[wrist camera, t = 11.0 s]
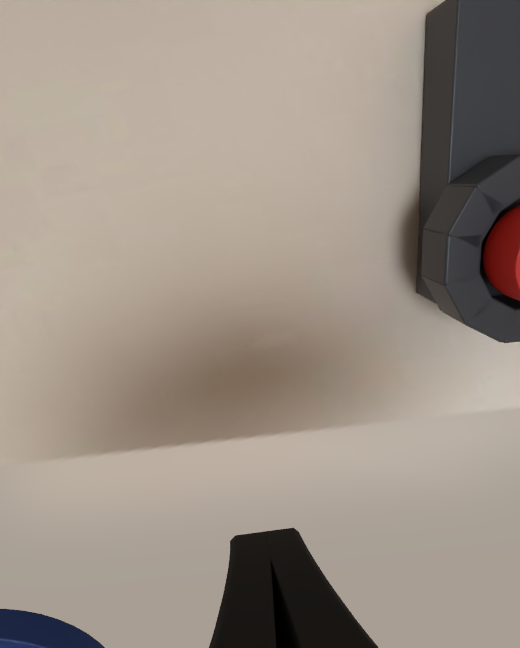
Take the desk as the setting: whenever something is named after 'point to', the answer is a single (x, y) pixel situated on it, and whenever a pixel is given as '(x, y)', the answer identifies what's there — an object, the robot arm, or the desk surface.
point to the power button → (504, 255)
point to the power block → (469, 158)
